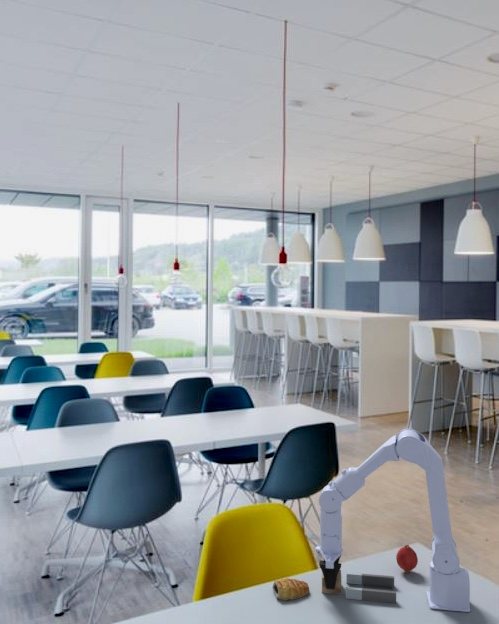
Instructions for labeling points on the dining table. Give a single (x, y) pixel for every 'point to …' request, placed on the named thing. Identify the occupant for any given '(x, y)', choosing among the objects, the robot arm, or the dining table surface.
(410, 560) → the pomegranate
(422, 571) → the dining table surface
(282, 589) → the pastry
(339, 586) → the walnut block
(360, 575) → the grey i-beam block
